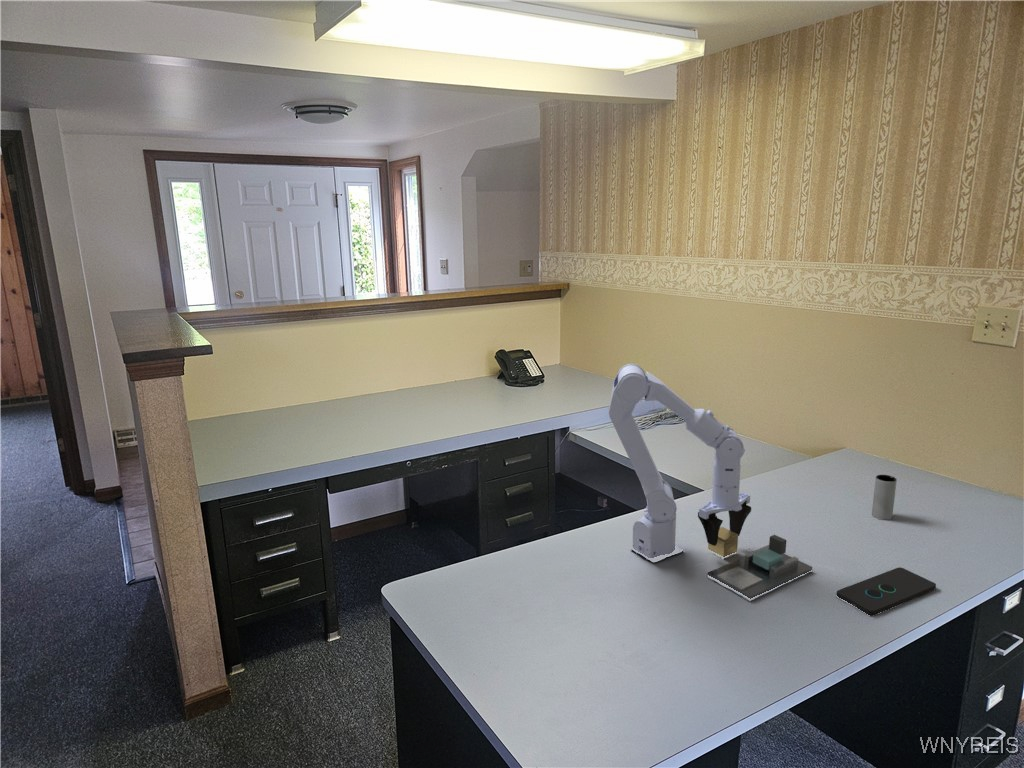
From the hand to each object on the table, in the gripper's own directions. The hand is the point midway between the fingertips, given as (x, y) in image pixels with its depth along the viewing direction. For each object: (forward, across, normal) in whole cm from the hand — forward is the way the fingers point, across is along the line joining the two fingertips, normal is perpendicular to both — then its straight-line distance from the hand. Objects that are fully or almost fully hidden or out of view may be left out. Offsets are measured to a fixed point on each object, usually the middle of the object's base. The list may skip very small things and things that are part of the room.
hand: (723, 539), depth 148 cm
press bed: (+3, -1, -11) cm, 12 cm away
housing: (+3, 0, 0) cm, 4 cm away
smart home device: (+4, +14, -30) cm, 33 cm away
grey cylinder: (+4, +47, -10) cm, 48 cm away
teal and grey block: (+2, +2, -11) cm, 11 cm away
